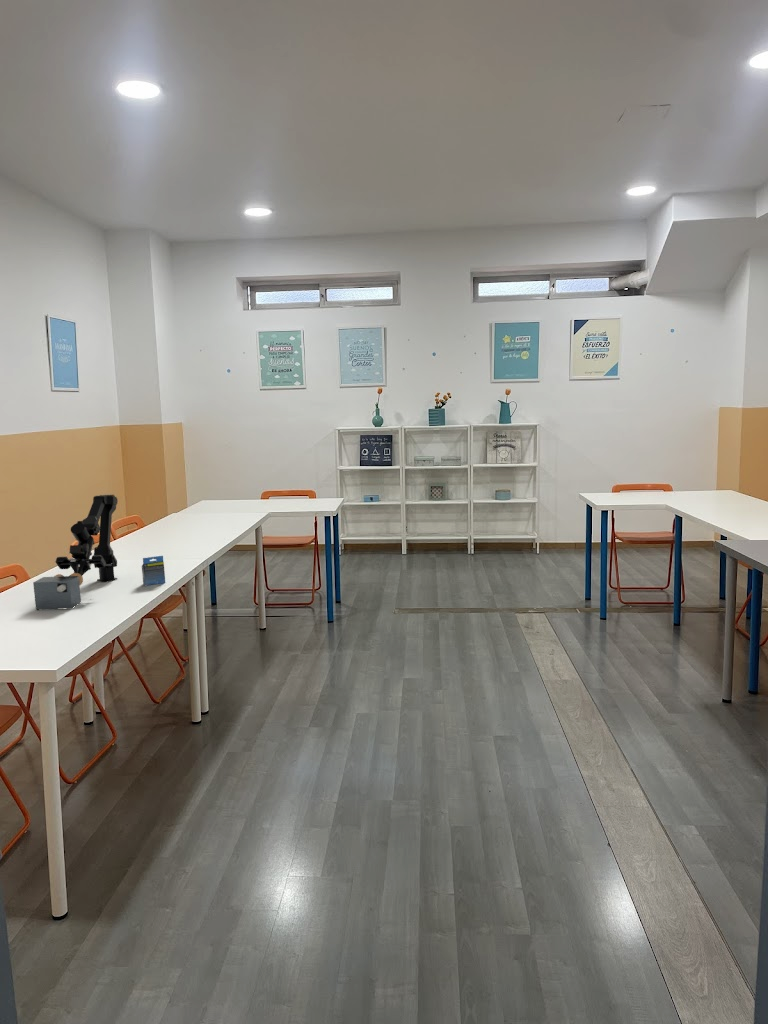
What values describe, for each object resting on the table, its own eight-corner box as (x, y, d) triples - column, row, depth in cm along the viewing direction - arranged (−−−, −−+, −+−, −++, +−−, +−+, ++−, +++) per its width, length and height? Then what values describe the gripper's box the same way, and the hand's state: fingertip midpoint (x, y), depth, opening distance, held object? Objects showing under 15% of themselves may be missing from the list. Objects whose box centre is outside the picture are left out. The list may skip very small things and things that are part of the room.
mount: (50, 601, 303) (47, 574, 302) (85, 599, 303) (82, 573, 302) (36, 610, 290) (33, 582, 289) (72, 608, 291) (69, 581, 289)
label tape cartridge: (163, 581, 332) (161, 554, 330) (165, 583, 328) (163, 555, 327) (142, 584, 328) (140, 556, 326) (144, 586, 324) (142, 558, 322)
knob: (69, 586, 303) (68, 573, 302) (83, 586, 303) (82, 572, 302) (53, 596, 288) (52, 582, 287) (68, 596, 288) (66, 581, 287)
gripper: (55, 537, 306) (45, 569, 296) (100, 536, 306) (93, 568, 296) (64, 552, 315) (56, 584, 305) (109, 551, 315) (101, 583, 305)
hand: (76, 579), depth 303 cm, fingers closed, pressing on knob
